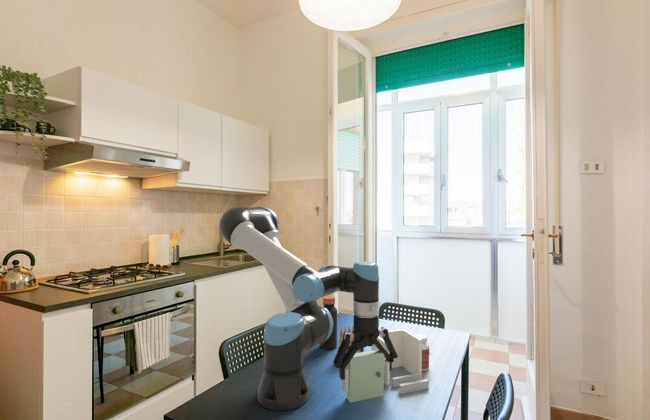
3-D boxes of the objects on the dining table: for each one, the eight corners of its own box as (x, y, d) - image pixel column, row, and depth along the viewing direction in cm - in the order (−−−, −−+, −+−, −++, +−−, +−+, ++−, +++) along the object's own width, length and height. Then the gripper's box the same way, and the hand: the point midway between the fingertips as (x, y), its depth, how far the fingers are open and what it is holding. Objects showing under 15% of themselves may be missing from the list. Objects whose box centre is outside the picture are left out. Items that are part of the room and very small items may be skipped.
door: (351, 404, 99) (351, 359, 99) (346, 398, 102) (347, 354, 102) (385, 397, 103) (385, 354, 103) (379, 391, 106) (379, 349, 106)
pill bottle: (432, 370, 120) (432, 339, 120) (416, 372, 119) (416, 340, 119) (423, 362, 126) (423, 332, 126) (407, 364, 125) (408, 333, 125)
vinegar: (336, 343, 143) (337, 295, 143) (336, 350, 137) (337, 299, 137) (320, 343, 144) (321, 295, 144) (319, 349, 137) (320, 299, 137)
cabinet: (396, 395, 104) (397, 352, 104) (371, 370, 120) (371, 333, 120) (432, 387, 108) (433, 346, 108) (403, 365, 124) (403, 329, 124)
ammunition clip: (340, 362, 126) (340, 329, 126) (337, 360, 128) (338, 327, 128) (364, 355, 132) (364, 324, 132) (361, 354, 133) (361, 323, 133)
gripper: (331, 322, 95) (331, 399, 95) (409, 313, 103) (409, 384, 103) (322, 315, 102) (322, 386, 102) (395, 307, 111) (395, 373, 110)
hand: (366, 385), depth 103 cm, fingers open, 13 cm apart
